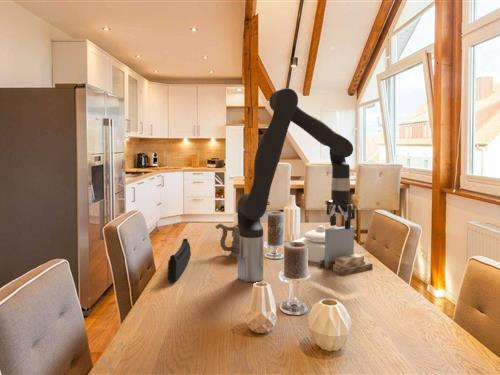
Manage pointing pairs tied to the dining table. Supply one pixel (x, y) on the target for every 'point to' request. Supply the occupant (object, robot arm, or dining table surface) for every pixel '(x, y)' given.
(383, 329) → the dining table surface
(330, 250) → the grey board
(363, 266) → the walnut rack
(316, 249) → the butter dish
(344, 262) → the offcut upper
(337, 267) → the offcut lower
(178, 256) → the black curved panel
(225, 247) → the tankard
